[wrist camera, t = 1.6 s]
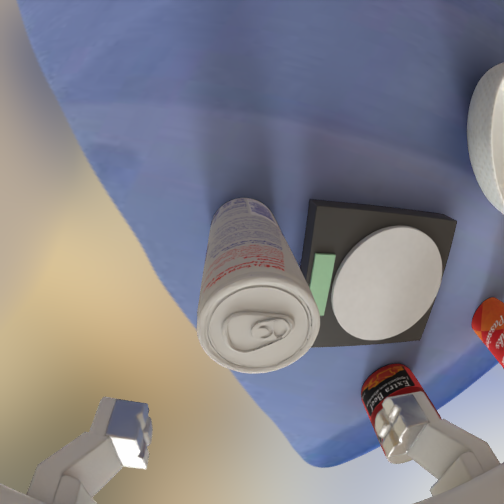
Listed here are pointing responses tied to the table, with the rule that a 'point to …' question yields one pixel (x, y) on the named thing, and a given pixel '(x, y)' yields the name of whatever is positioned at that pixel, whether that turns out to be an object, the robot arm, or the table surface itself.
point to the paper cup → (491, 326)
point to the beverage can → (253, 293)
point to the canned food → (389, 395)
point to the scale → (373, 270)
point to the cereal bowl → (488, 135)
